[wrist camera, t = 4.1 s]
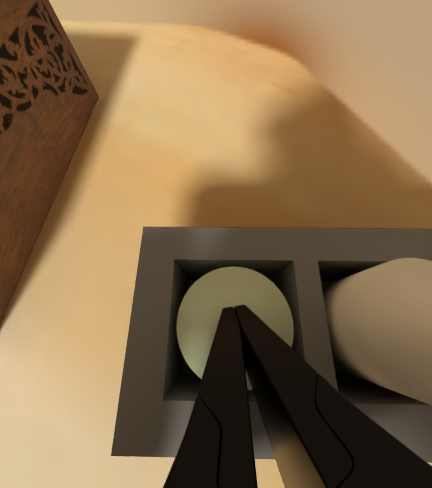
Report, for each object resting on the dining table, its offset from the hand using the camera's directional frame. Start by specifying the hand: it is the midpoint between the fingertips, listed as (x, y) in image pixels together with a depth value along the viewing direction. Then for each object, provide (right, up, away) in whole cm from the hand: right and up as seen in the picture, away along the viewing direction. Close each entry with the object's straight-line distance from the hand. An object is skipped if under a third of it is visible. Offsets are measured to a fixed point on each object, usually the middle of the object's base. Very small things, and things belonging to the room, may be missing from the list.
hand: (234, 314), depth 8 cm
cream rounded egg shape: (+6, -1, +3) cm, 7 cm away
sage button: (0, -2, +4) cm, 5 cm away
